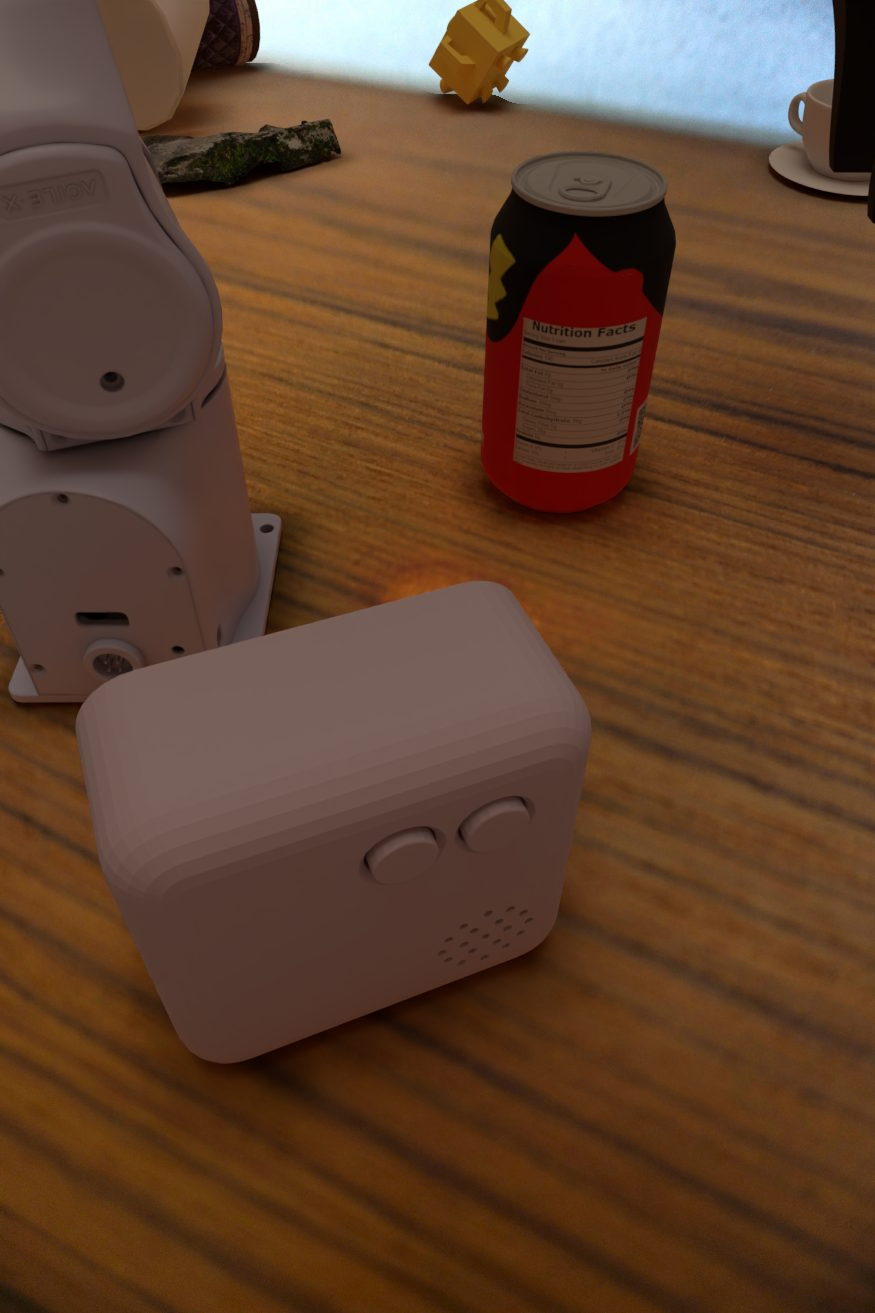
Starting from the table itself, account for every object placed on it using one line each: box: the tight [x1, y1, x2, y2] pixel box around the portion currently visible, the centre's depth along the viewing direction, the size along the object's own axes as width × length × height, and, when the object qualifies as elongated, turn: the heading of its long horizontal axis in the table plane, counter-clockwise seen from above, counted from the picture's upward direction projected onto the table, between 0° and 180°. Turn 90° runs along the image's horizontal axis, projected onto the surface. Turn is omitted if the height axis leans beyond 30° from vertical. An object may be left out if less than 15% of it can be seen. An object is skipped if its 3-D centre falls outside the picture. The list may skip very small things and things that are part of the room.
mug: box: [190, 0, 261, 74], centre depth 77 cm, size 10×7×12 cm
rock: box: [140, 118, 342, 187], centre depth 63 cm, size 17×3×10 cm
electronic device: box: [74, 580, 593, 1065], centre depth 22 cm, size 10×5×10 cm, turn 112°
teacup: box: [768, 78, 871, 197], centre depth 62 cm, size 10×10×5 cm
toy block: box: [428, 0, 531, 105], centre depth 72 cm, size 8×8×6 cm
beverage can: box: [480, 149, 677, 514], centre depth 36 cm, size 6×6×12 cm
